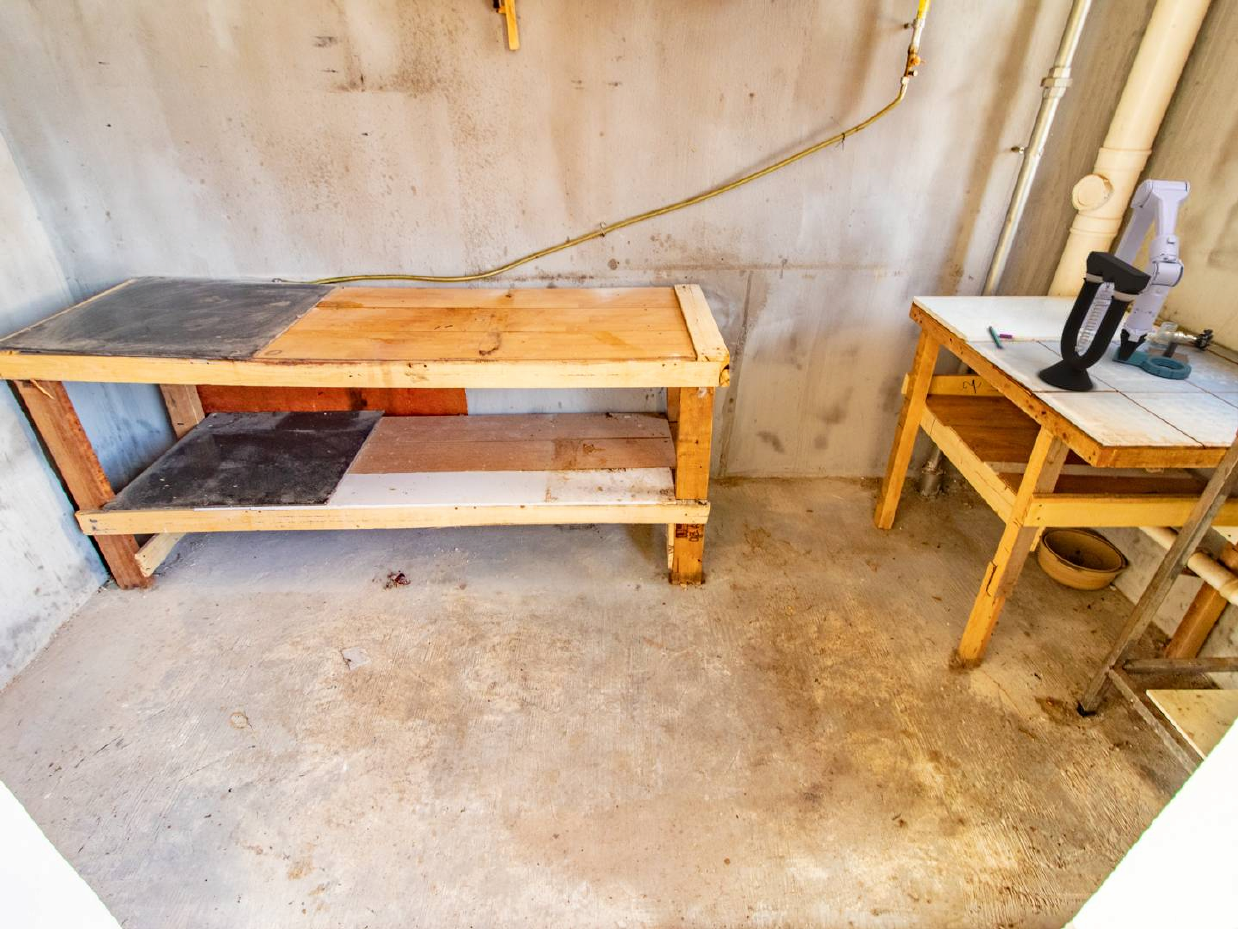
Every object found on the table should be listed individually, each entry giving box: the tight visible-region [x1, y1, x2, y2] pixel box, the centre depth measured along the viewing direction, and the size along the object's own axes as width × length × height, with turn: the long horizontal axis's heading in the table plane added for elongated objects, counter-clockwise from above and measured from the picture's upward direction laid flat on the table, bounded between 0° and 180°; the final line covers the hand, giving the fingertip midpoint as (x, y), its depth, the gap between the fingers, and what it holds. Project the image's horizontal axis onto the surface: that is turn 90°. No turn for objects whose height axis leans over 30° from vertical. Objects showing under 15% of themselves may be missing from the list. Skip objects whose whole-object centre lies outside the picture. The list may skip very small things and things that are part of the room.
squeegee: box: [988, 325, 1013, 349], centre depth 189 cm, size 15×1×5 cm
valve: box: [1153, 321, 1214, 352], centre depth 185 cm, size 7×7×12 cm
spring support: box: [1038, 250, 1151, 391], centre depth 160 cm, size 21×12×30 cm, turn 172°
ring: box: [1112, 345, 1193, 380], centre depth 171 cm, size 17×10×3 cm, turn 53°
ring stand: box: [1147, 340, 1188, 365], centre depth 178 cm, size 9×9×6 cm
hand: (1122, 358), depth 175 cm, fingers closed on ring, 2 cm apart
